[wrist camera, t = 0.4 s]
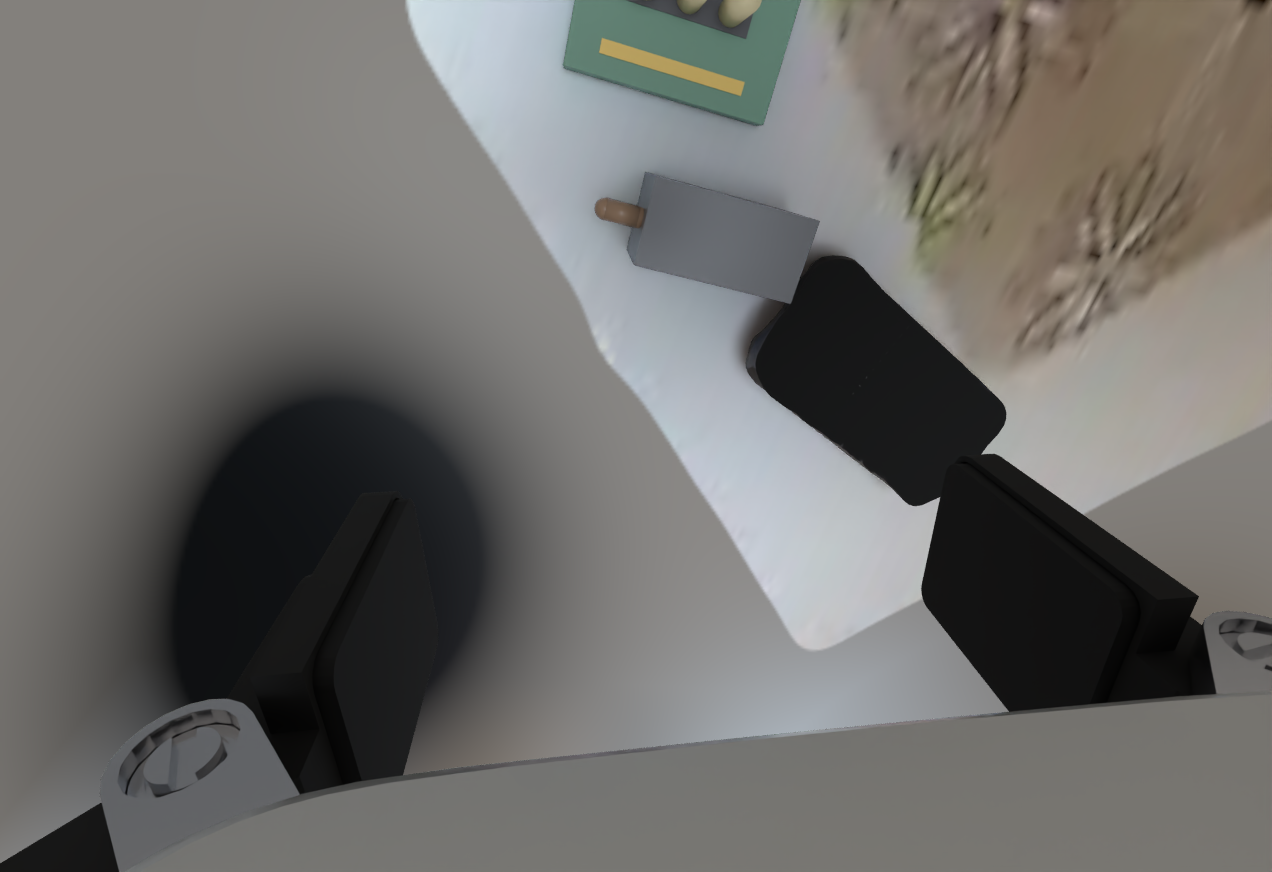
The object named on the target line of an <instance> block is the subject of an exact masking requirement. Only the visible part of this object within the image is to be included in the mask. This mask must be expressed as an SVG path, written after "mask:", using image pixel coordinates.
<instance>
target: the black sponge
mask: <svg viewBox="0 0 1272 872" xmlns="http://www.w3.org/2000/svg"><path fill="white" fill-rule="evenodd" d="M746 369H747V372H748V373H749V375H750V376H751V378H752V379H753V380H754V382H755V383H756V384H758V385H759V386H760V387H761V388H763V389H764V390H765V391H766V392H767V393H768V394H769V395H770V396H771V397H772V398H774V399H775V400H776V401H778V402H779V403H780V404H782V405H783V406H784V407H786V408H787V409H789V410H791V411H792V412H793V413H794V414H795V415H797V416H798V417H800V418H801V419H802V420H803V421H805V422H806V423H807V424H808V425H810V426H811V427H813V428H814V429H815V430H816V431H818V432H819V433H821V434H822V435H823V436H824V437H825V438H827V439H828V440H830V441H831V442H832V443H834V444H835V445H836V446H838V447H839V448H840V449H841V450H842V451H844V452H845V453H846V454H848V455H849V456H850V457H852V458H853V459H854V460H855V461H857V462H858V463H860V465H862V466H863V467H865V468H866V469H867V470H868V471H870V472H871V473H872V474H874V475H875V476H877V477H878V478H880V479H881V480H883V481H884V482H885V483H886V484H888V485H889V486H890V487H891V488H892V489H893V490H894V491H895V492H896V493H897V494H898V495H899V496H900V497H901V498H902V499H903V500H904V501H905V502H906V503H908V504H909V505H912V506H920V505H923V504H926V503H928V502H930V501H932V500H934V499H937V498H939V497H941V492H942V487H943V483H944V478H945V473H946V471H947V468H948V467H949V466H950V465H952V464H954V463H955V461H956V460H957V459H958V458H959V457H961V456H967V455H981V454H982V452H983V451H984V450H985V448H986V447H987V446H988V444H989V443H990V442H991V441H992V440H993V439H994V438H995V437H996V436H997V435H998V434H999V432H1000V431H1001V429H1002V428H1003V426H1004V424H1005V421H1006V410H1005V407H1004V405H1003V403H1002V402H1001V401H1000V400H999V399H998V398H997V397H996V396H995V395H994V394H993V393H992V392H991V391H990V390H989V389H988V388H987V387H986V386H985V385H984V384H983V383H982V382H981V381H980V380H979V379H978V378H977V377H976V376H975V375H973V374H972V373H971V372H970V371H969V370H968V369H967V368H966V367H965V366H964V365H963V364H962V363H961V362H960V361H959V360H958V359H957V358H955V357H954V356H953V355H952V354H951V353H950V352H949V351H948V350H947V349H946V348H945V347H943V346H942V345H941V344H940V343H939V342H938V341H937V340H936V339H935V338H934V337H933V336H932V335H931V334H930V333H928V332H927V331H926V330H925V329H924V328H923V327H922V326H921V325H920V324H919V323H918V322H917V321H915V320H914V319H913V318H912V317H911V316H910V315H909V314H908V313H907V312H906V311H905V310H904V309H903V308H902V307H901V306H900V305H898V304H897V303H896V302H895V301H894V300H893V299H892V298H891V297H890V296H888V295H887V294H886V293H885V292H884V291H883V290H882V289H881V287H880V286H879V285H878V284H877V283H876V282H875V281H874V280H873V279H872V278H871V277H870V275H869V274H868V273H867V272H866V271H865V269H864V268H863V267H862V266H861V265H859V264H858V263H857V262H856V261H855V260H853V259H851V258H848V257H843V256H827V257H822V258H820V259H818V260H816V261H815V262H814V263H813V264H812V266H811V267H810V268H809V269H808V271H807V272H806V273H805V274H804V275H803V276H802V278H801V279H800V280H799V282H798V285H797V288H796V290H795V293H794V296H793V299H792V302H791V304H789V303H785V305H784V306H783V308H782V309H781V311H780V312H779V313H778V314H777V316H776V317H775V318H774V319H773V320H772V321H771V322H770V323H769V324H768V325H767V326H766V327H765V329H764V330H762V331H761V332H760V333H759V334H758V335H756V336H755V337H754V338H753V340H752V342H751V345H750V348H749V352H748V356H747V360H746Z"/></svg>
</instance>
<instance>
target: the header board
mask: <svg viewBox="0 0 1272 872" xmlns="http://www.w3.org/2000/svg"><path fill="white" fill-rule="evenodd" d="M800 1H801V0H575V2H574V7H573V13H572V19H571V24H570V30H569V35H568V41H567V46H566V52H565V58H564V63H563V67H564V68H565V69H569V70H572V71H575V72H579V73H582V74H585V75H589V76H592V77H595V78H599V79H602V80H605V81H609V82H612V83H615V84H619V85H622V86H625V87H629V88H632V89H635V90H639V91H642V92H645V93H649V94H652V95H656V96H659V97H662V98H666V99H669V100H672V101H676V102H679V103H682V104H686V105H689V106H692V107H696V108H699V109H702V110H706V111H709V112H712V113H716V114H719V115H722V116H726V117H729V118H732V119H736V120H739V121H743V122H746V123H749V124H753V125H756V126H759V125H763V124H764V121H765V117H766V114H767V111H768V107H769V104H770V101H771V97H772V94H773V91H774V87H775V84H776V81H777V77H778V74H779V71H780V67H781V64H782V61H783V58H784V54H785V51H786V48H787V44H788V41H789V38H790V34H791V31H792V28H793V24H794V21H795V18H796V14H797V11H798V8H799V4H800Z"/></svg>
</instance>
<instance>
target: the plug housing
mask: <svg viewBox="0 0 1272 872" xmlns="http://www.w3.org/2000/svg"><path fill="white" fill-rule="evenodd" d="M595 213H596V215H597V216H598V217H599V218H600V219H602V220H606V221H610V222H614V223H618V224H621V225H625V226H629V227H632V230H631V234H630V238H629V242H628V246H627V251H628V253H629V255H630V258H631V260H632V262H633V264H634V265H635V266H639V267H643V268H647V269H651V270H655V271H659V272H663V273H667V274H671V275H676V276H680V277H684V278H688V279H692V280H696V281H700V282H704V283H708V284H712V285H716V286H720V287H724V288H728V289H732V290H736V291H740V292H744V293H748V294H752V295H756V296H760V297H764V298H769V299H773V300H777V301H781V302H785V303H789V304H791V302H792V299H793V296H794V293H795V290H796V288H797V285H798V282H799V279H800V276H801V273H802V271H803V268H804V265H805V262H806V259H807V256H808V254H809V251H810V248H811V245H812V242H813V239H814V237H815V234H816V231H817V228H818V225H819V222H820V221H818V220H815V219H811V218H808V217H805V216H802V215H798V214H795V213H792V212H789V211H785V210H781V209H778V208H774V207H771V206H767V205H763V204H760V203H756V202H752V201H749V200H745V199H742V198H738V197H734V196H731V195H727V194H723V193H720V192H716V191H713V190H709V189H705V188H702V187H698V186H694V185H691V184H687V183H683V182H680V181H676V180H673V179H669V178H665V177H662V176H658V175H654V174H651V173H647V172H645V175H644V180H643V184H642V188H641V192H640V196H639V200H638V205H637V206H636V205H632V204H628V203H625V202H621V201H617V200H613V199H610V198H601V199H599V200H598V201H597V202H596V204H595Z"/></svg>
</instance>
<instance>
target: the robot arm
mask: <svg viewBox="0 0 1272 872" xmlns="http://www.w3.org/2000/svg"><path fill="white" fill-rule="evenodd" d="M921 591H922V597H923V601H924V603H925V605H926V607H927V608H928V609H929V611H931V613H932V614H933V616H934V617H935V618H936V619H937V621H938V622H939V623H940V624H941V626H942V627H943V628H944V630H945V631H946V632H947V633H948V635H949V636H950V637H951V639H952V640H953V641H954V642H955V644H956V645H957V646H958V647H959V649H960V650H961V651H962V652H963V654H964V655H965V656H966V657H967V659H968V660H969V661H970V663H971V664H972V665H973V666H974V668H975V669H976V670H977V671H978V673H979V674H980V675H981V677H982V678H983V679H984V680H985V682H986V683H987V684H988V685H989V687H990V688H991V689H992V691H993V692H994V693H995V694H996V696H997V697H998V698H999V699H1000V701H1001V702H1002V703H1003V704H1004V706H1005V707H1006V708H1007V709H1008V711H1009V712H1002V713H991V714H980V715H969V716H958V717H948V718H937V719H926V720H916V721H906V722H896V723H885V724H876V725H865V726H855V727H844V728H834V729H825V730H815V731H804V732H794V733H784V734H774V735H763V736H753V737H744V738H734V739H724V740H714V741H704V742H695V743H685V744H676V745H666V746H657V747H647V748H637V749H628V750H618V751H608V752H599V753H590V754H580V755H570V756H561V757H551V758H541V759H532V760H523V761H514V762H504V763H495V764H486V765H476V766H467V767H459V768H451V769H444V770H437V771H430V772H423V773H416V774H409V775H403V773H404V769H405V765H406V762H407V758H408V754H409V750H410V746H411V743H412V739H413V735H414V732H415V728H416V724H417V720H418V717H419V713H420V709H421V705H422V701H423V697H424V694H425V690H426V687H427V683H428V679H429V674H430V672H431V668H432V664H433V660H434V657H435V653H436V649H437V644H438V624H437V619H436V614H435V609H434V603H433V599H432V593H431V588H430V583H429V577H428V572H427V567H426V562H425V557H424V552H423V546H422V541H421V536H420V531H419V526H418V520H417V515H416V510H415V506H414V503H413V501H412V500H411V499H403V498H402V496H401V494H400V493H399V492H398V491H395V492H379V493H363V494H361V495H360V497H359V498H358V500H357V501H356V503H355V505H354V506H353V508H352V510H351V511H350V513H349V514H348V516H347V518H346V519H345V521H344V523H343V524H342V526H341V528H340V529H339V531H338V533H337V534H336V536H335V538H334V539H333V541H332V542H331V544H330V546H329V547H328V549H327V551H326V552H325V554H324V556H323V557H322V559H321V560H320V562H319V564H318V566H317V567H316V569H315V570H314V572H313V574H312V575H309V576H307V577H304V578H303V579H302V581H301V582H300V583H299V584H298V586H297V587H296V589H295V591H294V592H293V594H292V595H291V597H290V598H289V600H288V602H287V603H286V605H285V606H284V608H283V610H282V611H281V613H280V614H279V616H278V618H277V619H276V621H275V622H274V624H273V626H272V627H271V629H270V630H269V632H268V634H267V635H266V637H265V638H264V640H263V641H262V643H261V645H260V646H259V648H258V650H257V651H256V653H255V654H254V656H253V657H252V659H251V661H250V662H249V664H248V666H247V667H246V669H245V670H244V672H243V673H242V675H241V676H240V678H239V680H238V681H237V683H236V685H235V686H234V688H233V689H232V691H231V693H230V694H229V696H228V697H227V699H210V700H206V701H202V702H197V703H194V704H189V705H187V706H184V707H182V708H179V709H177V710H174V711H172V712H170V713H167V714H165V715H164V716H162V717H160V718H159V719H157V720H156V721H154V722H152V723H150V724H149V725H147V726H145V727H144V728H142V729H141V730H140V731H139V732H138V733H136V734H135V735H134V736H133V737H132V738H131V739H129V740H128V741H127V742H126V743H124V745H123V746H122V747H121V748H120V749H119V750H118V752H117V753H116V754H115V755H114V756H113V757H112V759H111V760H110V761H109V763H108V765H107V767H106V769H105V771H104V773H103V775H102V777H101V780H100V798H101V802H102V803H100V804H98V805H96V806H95V807H93V808H91V809H90V810H88V811H87V812H85V813H83V814H82V815H80V816H78V817H77V818H75V819H73V820H72V821H70V822H68V823H67V824H65V825H63V826H62V827H60V828H59V829H57V830H55V831H53V832H52V833H50V834H48V835H47V836H45V837H43V838H42V839H40V840H38V841H37V842H35V843H33V844H32V845H30V846H29V847H27V848H25V849H23V850H22V851H20V852H19V853H17V854H15V855H13V856H12V857H10V858H8V859H7V860H5V861H3V862H2V863H0V872H1272V618H1269V617H1266V616H1261V615H1256V614H1252V613H1247V612H1237V611H1223V612H1216V613H1212V614H1211V615H1210V616H1208V617H1207V618H1205V620H1204V622H1203V624H1202V625H1201V624H1199V623H1198V622H1197V621H1196V620H1194V619H1193V618H1191V617H1190V615H1191V613H1192V611H1193V609H1194V606H1195V604H1196V602H1197V599H1198V597H1199V596H1198V595H1196V594H1195V593H1193V592H1192V591H1191V590H1189V589H1188V588H1186V587H1185V586H1183V585H1182V584H1181V583H1179V582H1178V581H1176V580H1175V579H1174V578H1172V577H1171V576H1169V575H1168V574H1166V573H1165V572H1164V571H1162V570H1161V569H1159V568H1158V567H1157V566H1155V565H1153V564H1152V563H1151V562H1149V561H1148V560H1147V559H1145V558H1143V557H1142V556H1141V555H1139V554H1138V553H1137V552H1135V551H1134V550H1132V549H1131V548H1130V547H1128V546H1127V545H1125V544H1124V543H1122V542H1121V541H1120V540H1118V539H1117V538H1115V537H1114V536H1112V535H1111V534H1110V533H1108V532H1107V531H1105V530H1104V529H1102V528H1101V527H1100V526H1098V525H1097V524H1095V523H1094V522H1093V521H1091V520H1089V519H1088V518H1087V517H1085V516H1084V515H1083V514H1081V513H1080V512H1078V511H1077V510H1076V509H1074V508H1073V507H1071V506H1070V505H1068V504H1067V503H1066V502H1064V501H1063V500H1061V499H1060V498H1058V497H1057V496H1056V495H1054V494H1053V493H1051V492H1050V491H1049V490H1047V489H1046V488H1044V487H1043V486H1041V485H1040V484H1039V483H1037V482H1036V481H1034V480H1033V479H1031V478H1030V477H1029V476H1027V475H1026V474H1024V473H1023V472H1022V471H1020V470H1019V469H1017V468H1016V467H1014V466H1013V465H1012V464H1010V463H1009V462H1007V461H1006V460H1004V459H1003V458H1002V457H1000V456H998V455H996V454H983V455H967V456H961V457H959V458H958V459H957V460H956V461H955V463H954V464H952V465H950V466H949V467H948V468H947V471H946V473H945V478H944V483H943V487H942V492H941V497H940V502H939V506H938V511H937V516H936V520H935V525H934V530H933V534H932V539H931V544H930V548H929V553H928V558H927V563H926V567H925V572H924V577H923V581H922V588H921Z"/></svg>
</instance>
